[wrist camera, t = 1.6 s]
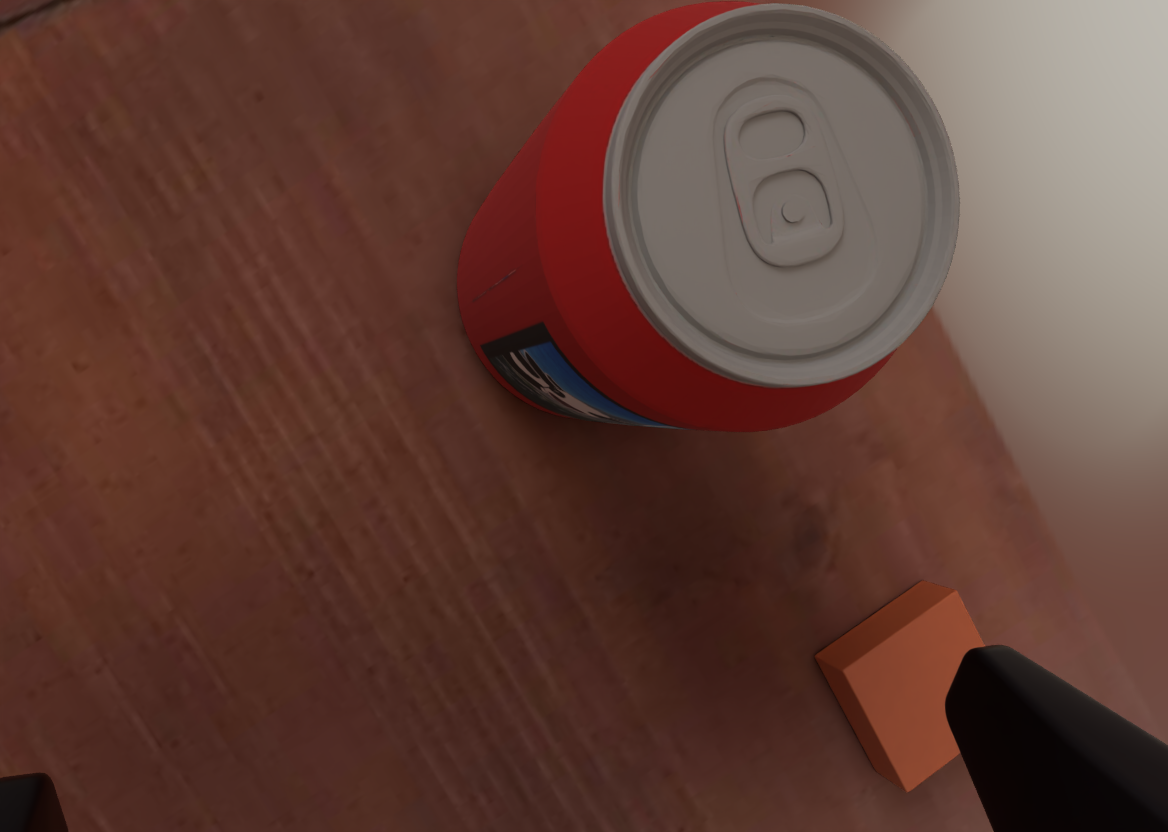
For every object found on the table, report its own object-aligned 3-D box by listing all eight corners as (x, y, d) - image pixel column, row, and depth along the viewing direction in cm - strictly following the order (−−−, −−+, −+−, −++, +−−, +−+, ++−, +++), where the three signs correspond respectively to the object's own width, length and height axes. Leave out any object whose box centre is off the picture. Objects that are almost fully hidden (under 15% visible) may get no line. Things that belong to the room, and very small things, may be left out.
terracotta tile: (980, 693, 28) (1018, 710, 27) (875, 771, 27) (908, 794, 26) (922, 579, 28) (957, 589, 26) (812, 655, 27) (842, 671, 25)
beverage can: (494, 453, 24) (639, 501, 13) (417, 194, 24) (496, -1, 12) (731, 379, 26) (1049, 362, 14) (663, 135, 25) (939, -88, 14)
